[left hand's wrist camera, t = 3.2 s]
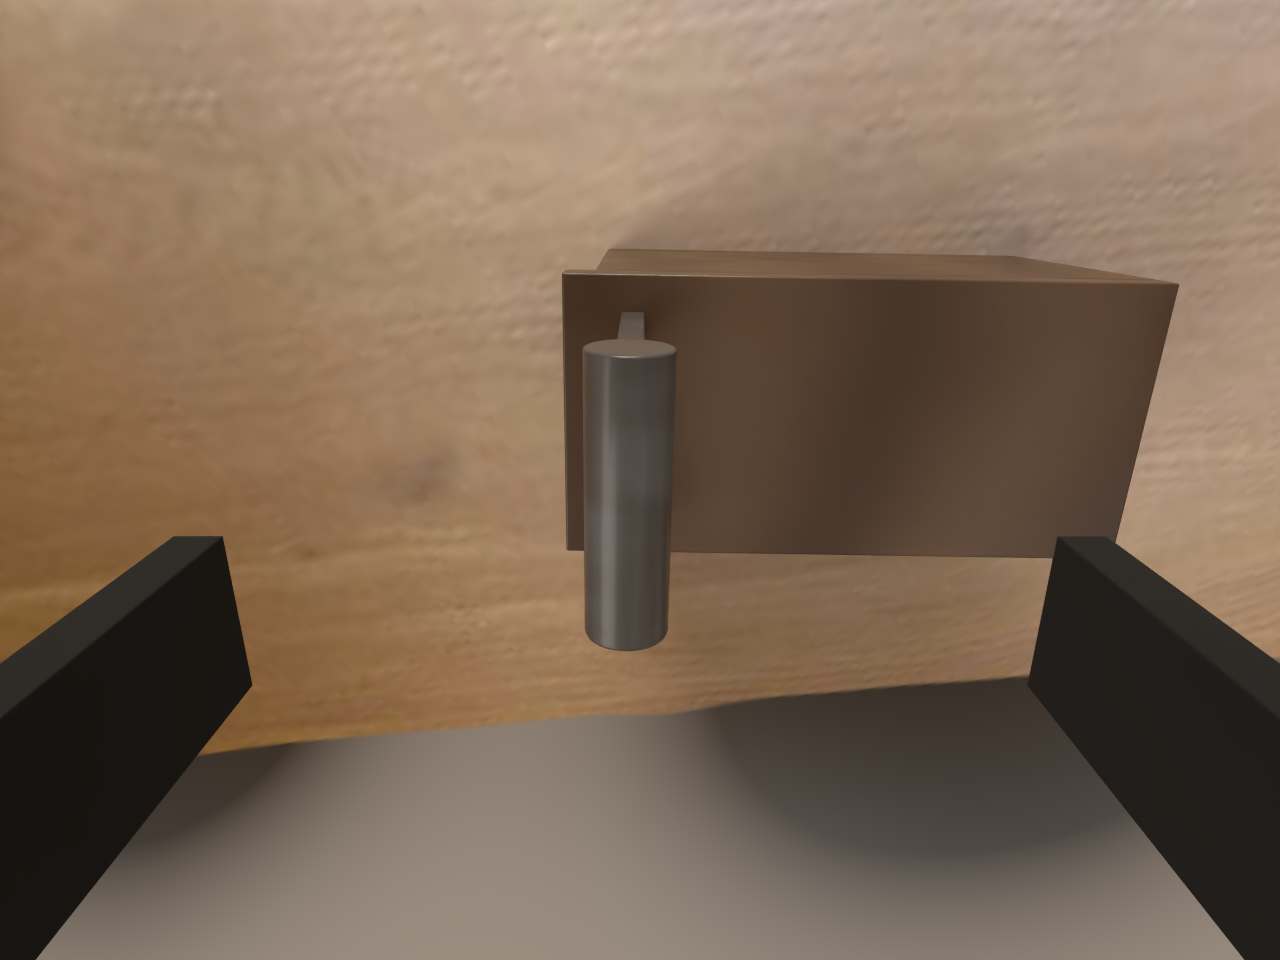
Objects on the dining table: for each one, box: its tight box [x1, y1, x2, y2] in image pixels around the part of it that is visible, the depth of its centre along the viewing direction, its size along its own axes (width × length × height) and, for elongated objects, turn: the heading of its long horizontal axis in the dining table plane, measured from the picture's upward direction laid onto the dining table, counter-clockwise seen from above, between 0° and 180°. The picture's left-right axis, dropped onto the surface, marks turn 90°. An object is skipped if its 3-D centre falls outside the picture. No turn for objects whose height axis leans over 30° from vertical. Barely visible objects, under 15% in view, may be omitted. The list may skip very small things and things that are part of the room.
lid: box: [562, 270, 1179, 651], centre depth 22 cm, size 18×9×9 cm, turn 89°
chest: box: [596, 249, 1154, 280], centre depth 31 cm, size 18×9×10 cm, turn 89°
